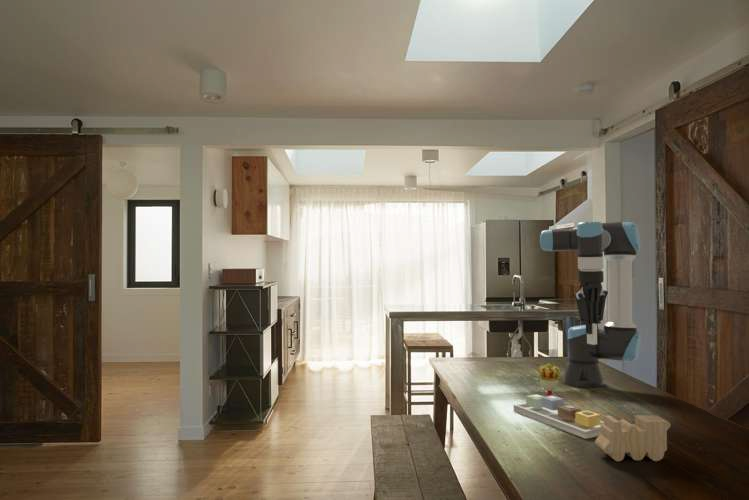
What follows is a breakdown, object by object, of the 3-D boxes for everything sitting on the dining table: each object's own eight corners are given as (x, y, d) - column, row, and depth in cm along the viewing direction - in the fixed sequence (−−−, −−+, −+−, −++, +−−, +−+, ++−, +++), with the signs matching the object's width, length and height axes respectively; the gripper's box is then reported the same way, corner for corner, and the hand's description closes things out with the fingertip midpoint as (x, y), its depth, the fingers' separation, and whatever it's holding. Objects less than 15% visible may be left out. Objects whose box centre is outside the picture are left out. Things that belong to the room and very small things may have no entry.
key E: (537, 402, 177) (537, 393, 177) (547, 406, 173) (547, 396, 173) (526, 404, 175) (526, 395, 175) (536, 408, 171) (536, 398, 171)
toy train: (595, 453, 137) (594, 415, 138) (658, 452, 138) (658, 414, 138) (604, 462, 132) (604, 422, 132) (671, 460, 132) (670, 421, 132)
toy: (561, 405, 181) (561, 361, 182) (540, 404, 183) (539, 361, 183) (558, 399, 188) (558, 357, 189) (537, 398, 190) (537, 357, 190)
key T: (569, 414, 164) (569, 403, 164) (581, 418, 160) (581, 407, 160) (557, 416, 162) (557, 405, 162) (569, 420, 158) (569, 410, 158)
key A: (587, 420, 158) (586, 409, 158) (600, 424, 154) (600, 413, 154) (575, 422, 156) (575, 411, 156) (588, 427, 152) (588, 416, 152)
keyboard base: (540, 406, 180) (540, 400, 180) (614, 432, 154) (614, 425, 154) (513, 410, 175) (513, 404, 175) (585, 438, 148) (585, 431, 148)
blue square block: (552, 404, 171) (552, 394, 171) (563, 408, 166) (563, 398, 166) (541, 406, 169) (541, 396, 169) (552, 410, 164) (552, 400, 164)
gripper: (595, 268, 173) (596, 339, 174) (566, 270, 167) (568, 344, 168) (614, 269, 166) (616, 343, 167) (585, 271, 161) (587, 348, 161)
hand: (592, 343), depth 167 cm, fingers closed
